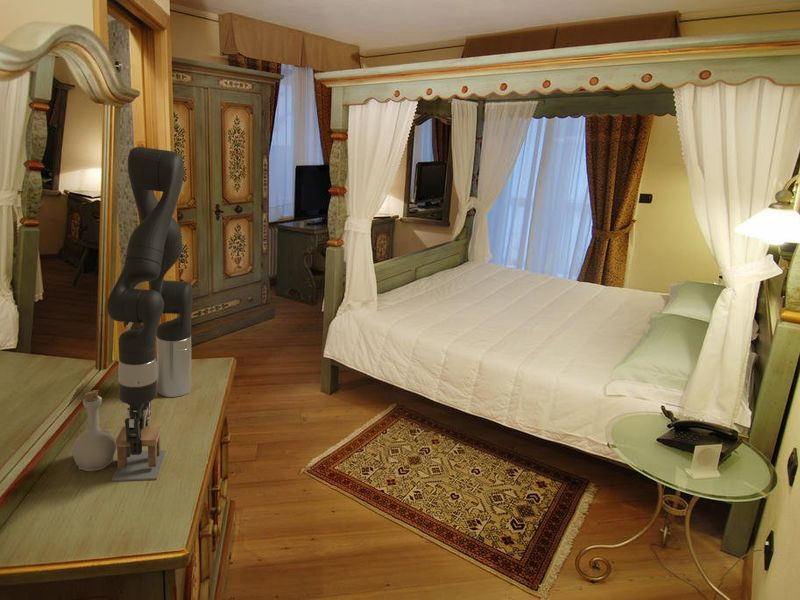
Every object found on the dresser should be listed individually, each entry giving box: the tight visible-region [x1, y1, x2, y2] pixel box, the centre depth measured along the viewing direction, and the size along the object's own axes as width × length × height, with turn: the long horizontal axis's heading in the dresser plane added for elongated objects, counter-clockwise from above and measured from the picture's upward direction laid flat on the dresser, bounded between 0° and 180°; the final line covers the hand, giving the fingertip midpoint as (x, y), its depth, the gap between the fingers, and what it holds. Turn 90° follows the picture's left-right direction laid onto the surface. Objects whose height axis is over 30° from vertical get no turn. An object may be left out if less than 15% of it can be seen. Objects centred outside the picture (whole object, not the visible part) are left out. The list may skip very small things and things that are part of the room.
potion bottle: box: [71, 389, 117, 473], centre depth 120 cm, size 9×9×18 cm
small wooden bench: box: [115, 425, 162, 468], centre depth 121 cm, size 8×6×7 cm
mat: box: [111, 449, 167, 482], centre depth 123 cm, size 11×9×1 cm
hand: (139, 445), depth 121 cm, fingers closed on small wooden bench, 6 cm apart
